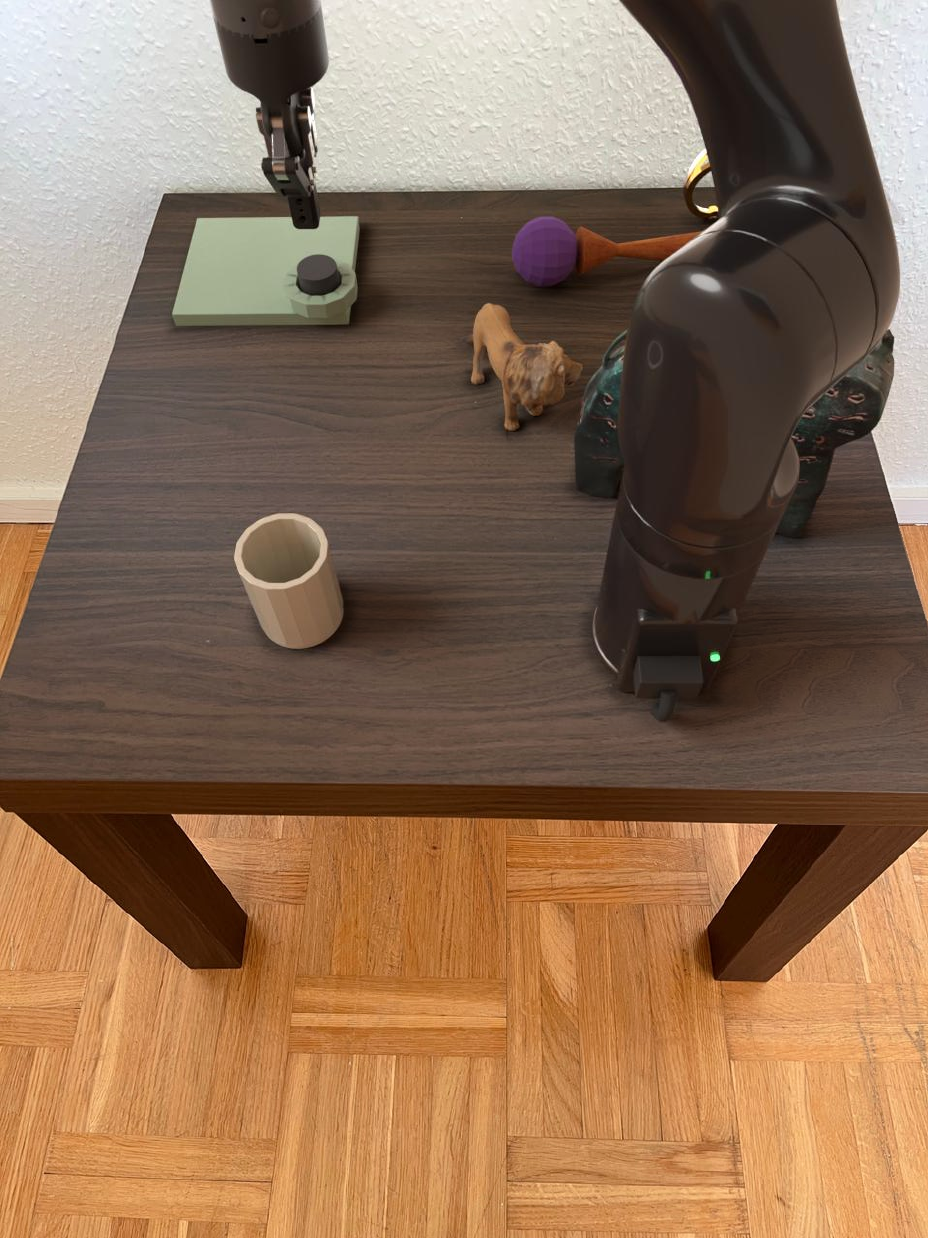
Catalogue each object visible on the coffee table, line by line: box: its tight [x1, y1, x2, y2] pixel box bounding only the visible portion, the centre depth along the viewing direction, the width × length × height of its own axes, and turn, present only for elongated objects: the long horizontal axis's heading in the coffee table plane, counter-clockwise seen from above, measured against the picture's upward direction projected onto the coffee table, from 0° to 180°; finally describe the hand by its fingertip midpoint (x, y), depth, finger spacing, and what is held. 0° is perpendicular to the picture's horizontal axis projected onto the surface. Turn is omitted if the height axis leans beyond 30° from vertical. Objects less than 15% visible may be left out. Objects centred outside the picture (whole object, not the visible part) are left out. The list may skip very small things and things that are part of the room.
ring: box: [682, 147, 719, 222], centre depth 87 cm, size 7×3×8 cm, turn 96°
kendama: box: [511, 216, 704, 288], centre depth 84 cm, size 6×6×20 cm
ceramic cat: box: [573, 328, 895, 539], centre depth 63 cm, size 20×6×20 cm, turn 73°
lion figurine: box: [460, 302, 584, 432], centre depth 75 cm, size 15×5×9 cm, turn 33°
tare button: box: [297, 254, 339, 296], centre depth 82 cm, size 4×4×2 cm
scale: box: [171, 215, 361, 327], centre depth 86 cm, size 15×17×3 cm
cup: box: [233, 512, 345, 650], centre depth 64 cm, size 6×6×8 cm
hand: (307, 223), depth 78 cm, fingers closed
